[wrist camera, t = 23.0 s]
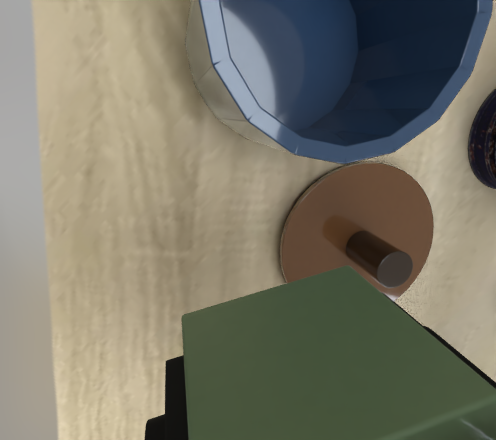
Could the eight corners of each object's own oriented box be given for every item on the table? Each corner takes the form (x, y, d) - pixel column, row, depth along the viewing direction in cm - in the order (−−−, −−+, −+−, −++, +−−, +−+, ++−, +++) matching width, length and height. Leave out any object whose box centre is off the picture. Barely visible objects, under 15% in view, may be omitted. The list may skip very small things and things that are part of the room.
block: (363, 392, 12) (493, 578, 7) (222, 443, 11) (261, 688, 6) (348, 263, 10) (506, 394, 5) (180, 314, 9) (191, 516, 5)
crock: (369, 123, 26) (487, 130, 17) (210, 159, 25) (237, 190, 15) (356, -74, 22) (503, -222, 12) (163, -48, 20) (157, -197, 11)
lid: (425, 287, 32) (476, 322, 27) (290, 329, 30) (316, 376, 25) (422, 144, 28) (483, 152, 22) (264, 183, 26) (289, 201, 21)
